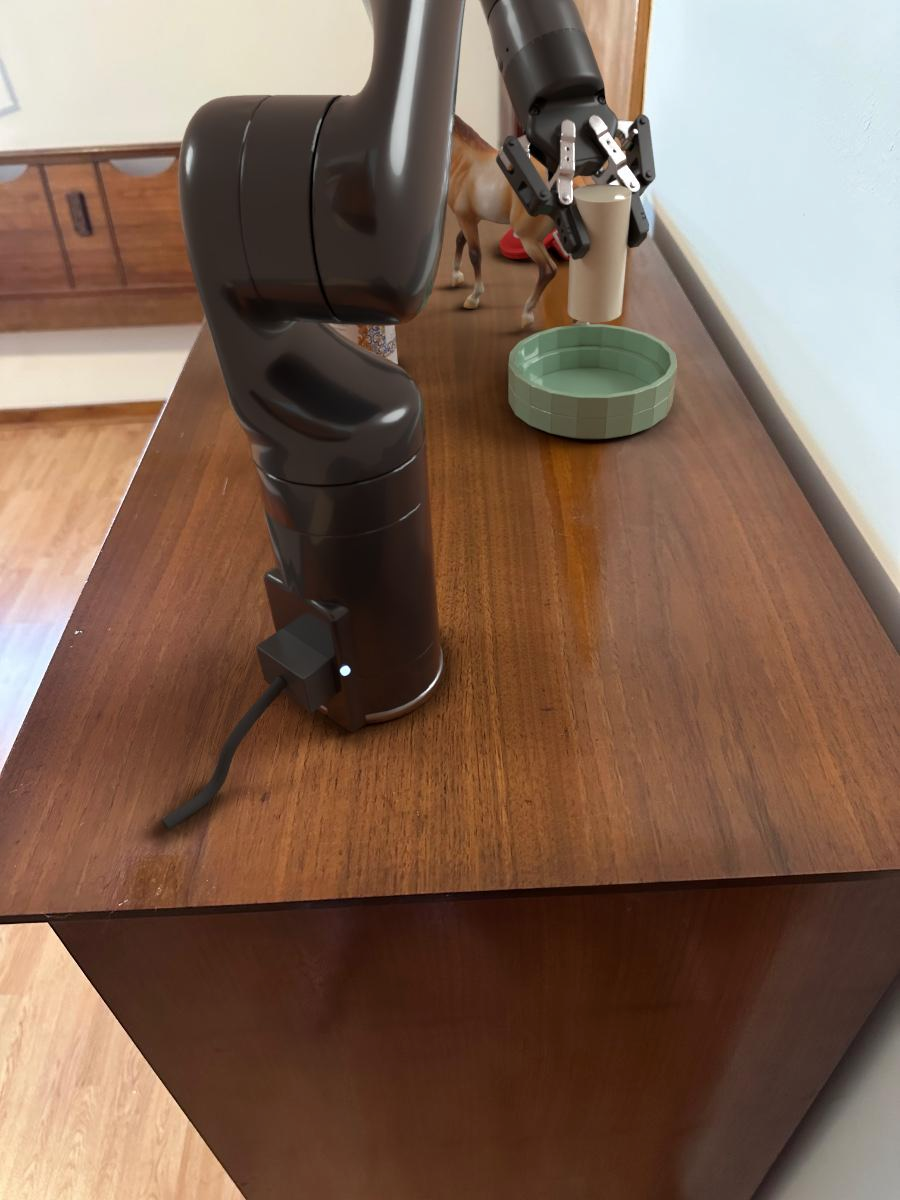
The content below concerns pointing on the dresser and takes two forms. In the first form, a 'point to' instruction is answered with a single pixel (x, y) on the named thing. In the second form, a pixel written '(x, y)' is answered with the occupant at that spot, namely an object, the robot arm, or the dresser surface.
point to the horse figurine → (494, 212)
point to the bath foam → (372, 338)
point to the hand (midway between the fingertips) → (610, 247)
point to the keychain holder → (515, 249)
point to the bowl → (591, 381)
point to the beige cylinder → (600, 253)
